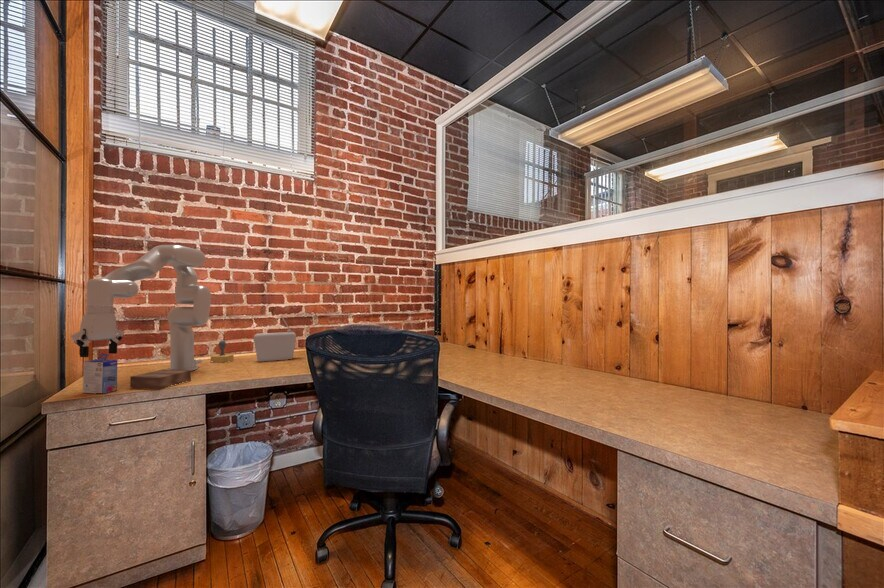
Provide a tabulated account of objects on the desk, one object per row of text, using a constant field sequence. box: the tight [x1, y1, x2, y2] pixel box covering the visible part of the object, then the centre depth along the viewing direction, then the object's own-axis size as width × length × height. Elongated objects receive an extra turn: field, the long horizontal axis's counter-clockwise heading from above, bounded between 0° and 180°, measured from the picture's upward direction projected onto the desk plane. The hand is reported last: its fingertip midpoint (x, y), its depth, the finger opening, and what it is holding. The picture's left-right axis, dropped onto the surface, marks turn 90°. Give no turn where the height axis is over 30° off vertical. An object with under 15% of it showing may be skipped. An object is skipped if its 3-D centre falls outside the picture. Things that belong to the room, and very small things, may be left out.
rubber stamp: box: [210, 339, 235, 363], centre depth 199 cm, size 10×6×12 cm, turn 86°
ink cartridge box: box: [82, 353, 118, 394], centre depth 136 cm, size 10×6×14 cm, turn 78°
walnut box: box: [129, 368, 192, 390], centre depth 147 cm, size 14×14×5 cm
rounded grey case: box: [253, 316, 297, 363], centre depth 203 cm, size 22×8×25 cm, turn 116°
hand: (98, 355), depth 136 cm, fingers open, 9 cm apart
